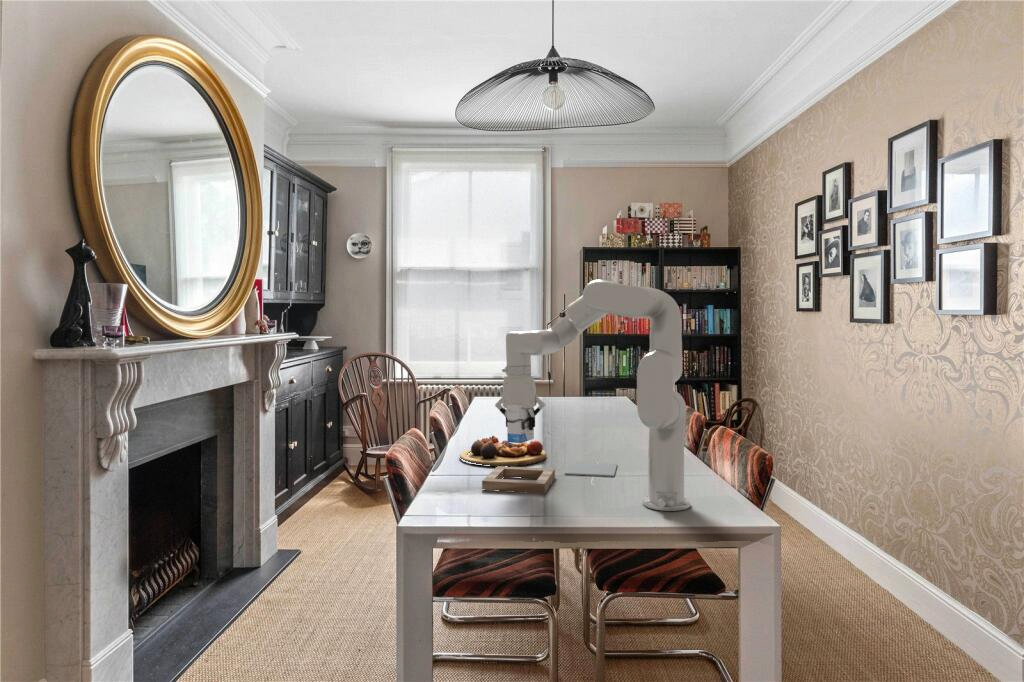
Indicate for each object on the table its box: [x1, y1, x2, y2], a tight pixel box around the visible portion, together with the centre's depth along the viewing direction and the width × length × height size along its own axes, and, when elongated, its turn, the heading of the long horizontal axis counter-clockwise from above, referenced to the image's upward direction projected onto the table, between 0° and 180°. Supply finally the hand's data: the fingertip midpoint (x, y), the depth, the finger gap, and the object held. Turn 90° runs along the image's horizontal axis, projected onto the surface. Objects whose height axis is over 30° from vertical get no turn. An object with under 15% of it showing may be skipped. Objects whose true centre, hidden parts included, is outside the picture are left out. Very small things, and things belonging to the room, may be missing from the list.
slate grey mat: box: [564, 461, 618, 478], centre depth 215 cm, size 16×16×1 cm
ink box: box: [506, 404, 535, 444], centre depth 197 cm, size 8×5×12 cm, turn 148°
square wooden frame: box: [481, 466, 556, 495], centre depth 198 cm, size 19×19×3 cm
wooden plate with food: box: [459, 435, 547, 467], centre depth 236 cm, size 32×32×8 cm
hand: (520, 428), depth 197 cm, fingers closed on ink box, 6 cm apart
